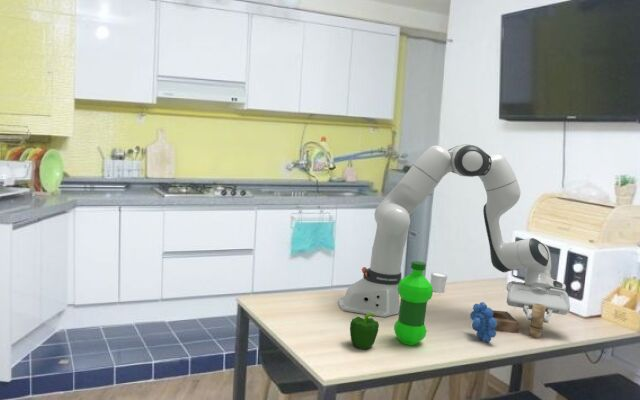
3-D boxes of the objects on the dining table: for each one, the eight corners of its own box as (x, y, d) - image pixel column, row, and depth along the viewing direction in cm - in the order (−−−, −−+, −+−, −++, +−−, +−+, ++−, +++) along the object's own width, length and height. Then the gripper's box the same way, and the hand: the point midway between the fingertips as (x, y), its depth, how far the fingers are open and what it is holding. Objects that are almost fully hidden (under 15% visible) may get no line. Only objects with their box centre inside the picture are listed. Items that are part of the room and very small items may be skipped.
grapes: (458, 333, 181) (463, 298, 180) (474, 332, 184) (479, 297, 183) (482, 347, 171) (488, 310, 169) (499, 345, 174) (504, 309, 172)
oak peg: (530, 338, 184) (535, 306, 182) (526, 333, 188) (530, 302, 186) (543, 339, 184) (548, 307, 182) (538, 334, 188) (542, 304, 187)
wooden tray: (483, 329, 187) (484, 319, 187) (473, 317, 199) (474, 308, 199) (517, 332, 188) (519, 323, 187) (505, 320, 200) (507, 311, 199)
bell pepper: (348, 350, 157) (352, 316, 156) (347, 339, 166) (351, 307, 164) (377, 353, 157) (381, 319, 156) (374, 342, 166) (378, 310, 164)
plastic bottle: (421, 336, 174) (431, 260, 171) (428, 350, 164) (439, 268, 161) (389, 333, 174) (399, 257, 171) (395, 346, 163) (405, 265, 160)
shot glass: (447, 291, 232) (449, 275, 231) (442, 294, 226) (444, 277, 225) (432, 287, 236) (434, 271, 235) (426, 290, 230) (428, 274, 229)
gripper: (508, 275, 193) (506, 310, 184) (570, 285, 188) (571, 321, 180) (505, 284, 198) (503, 319, 189) (566, 294, 193) (566, 330, 185)
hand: (537, 320), depth 185 cm, fingers closed on oak peg, 4 cm apart
